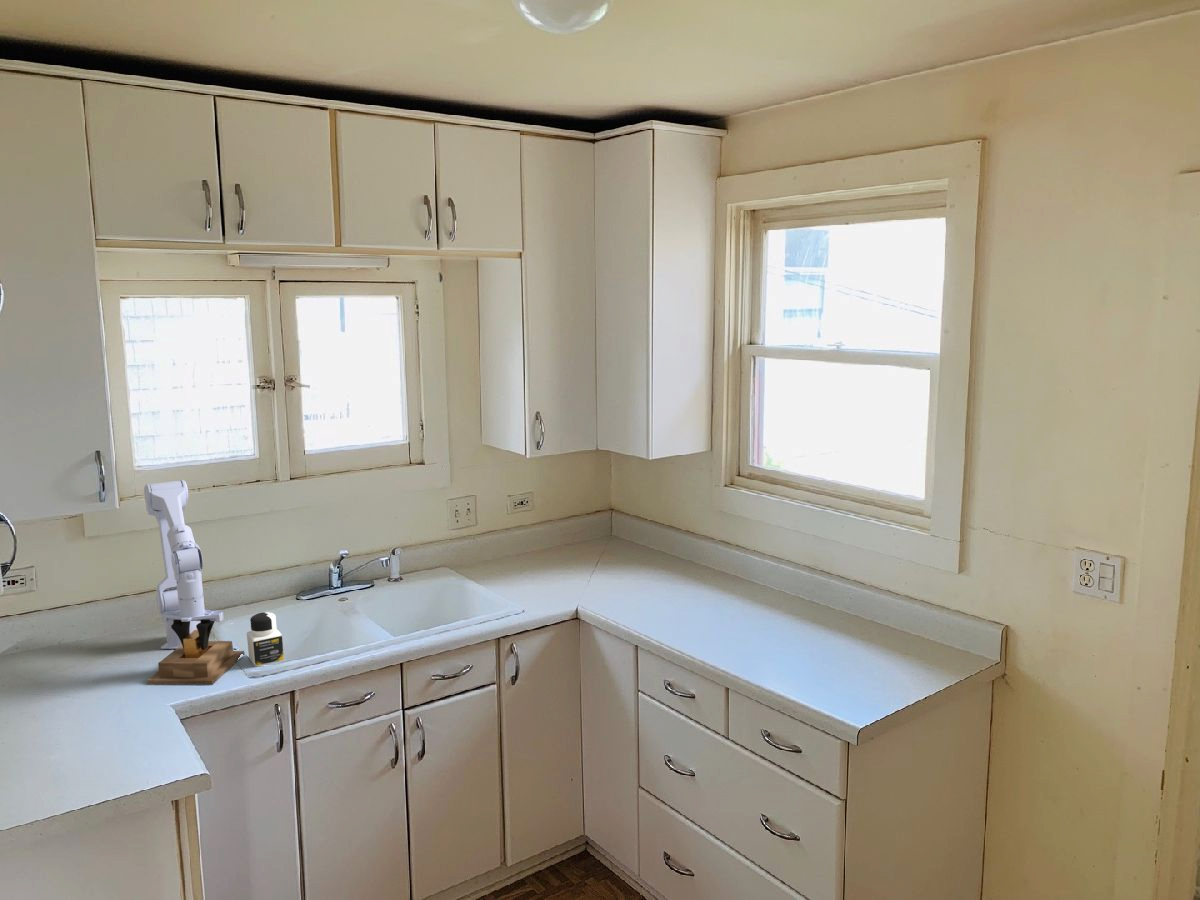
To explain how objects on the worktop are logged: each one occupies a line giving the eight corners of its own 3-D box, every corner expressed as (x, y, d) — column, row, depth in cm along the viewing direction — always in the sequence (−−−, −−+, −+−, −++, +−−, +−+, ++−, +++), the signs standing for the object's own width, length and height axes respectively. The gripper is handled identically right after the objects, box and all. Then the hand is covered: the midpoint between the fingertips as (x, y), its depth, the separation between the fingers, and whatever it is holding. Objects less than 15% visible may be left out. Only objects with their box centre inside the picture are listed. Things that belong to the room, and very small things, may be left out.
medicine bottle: (255, 667, 228) (251, 622, 226) (248, 658, 234) (244, 613, 232) (284, 660, 232) (280, 616, 230) (277, 651, 238) (273, 607, 236)
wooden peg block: (198, 659, 231) (195, 629, 229) (209, 659, 231) (206, 629, 229) (186, 669, 225) (183, 638, 224) (198, 669, 225) (195, 638, 223)
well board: (184, 654, 237) (182, 637, 236) (244, 654, 236) (243, 638, 235) (147, 684, 219) (145, 666, 218) (212, 684, 219) (210, 666, 218)
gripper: (153, 601, 221) (159, 654, 223) (212, 601, 220) (217, 654, 223) (168, 592, 228) (173, 643, 230) (225, 592, 227) (229, 643, 229)
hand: (195, 648), depth 227 cm, fingers open, 4 cm apart
